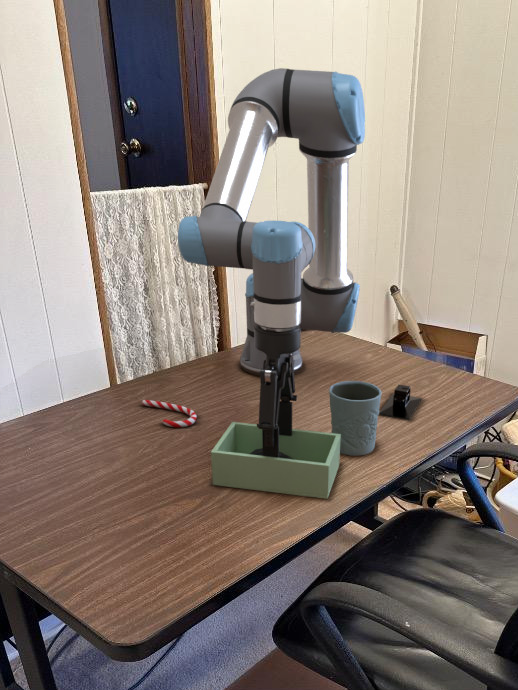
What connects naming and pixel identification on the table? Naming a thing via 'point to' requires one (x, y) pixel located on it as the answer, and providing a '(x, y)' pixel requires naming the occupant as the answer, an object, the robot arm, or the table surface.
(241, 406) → the table surface
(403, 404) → the black bracket mount
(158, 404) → the candy cane
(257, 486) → the open rectangular box
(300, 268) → the robot arm
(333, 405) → the blue-grey embossed cup
